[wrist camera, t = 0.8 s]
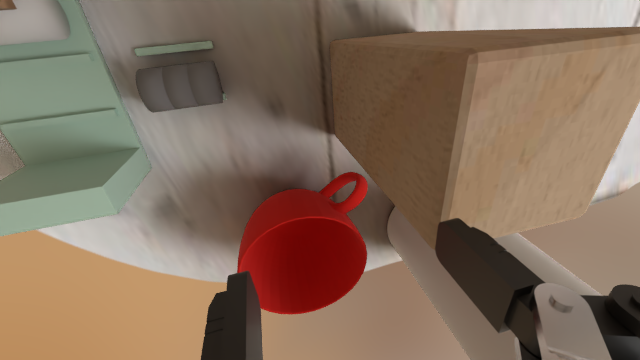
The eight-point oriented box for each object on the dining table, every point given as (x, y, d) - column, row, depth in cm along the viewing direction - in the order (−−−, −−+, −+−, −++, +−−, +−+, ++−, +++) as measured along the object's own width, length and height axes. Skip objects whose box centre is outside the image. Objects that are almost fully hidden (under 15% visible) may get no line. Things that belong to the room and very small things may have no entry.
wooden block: (333, 136, 32) (433, 256, 14) (328, 40, 27) (468, 49, 10) (412, 124, 33) (587, 219, 16) (420, 31, 28) (684, 25, 11)
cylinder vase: (371, 243, 41) (505, 472, 20) (409, 171, 36) (639, 368, 15) (434, 253, 45) (601, 448, 24) (476, 189, 41) (728, 362, 19)
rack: (136, 48, 24) (133, 48, 23) (211, 40, 25) (211, 40, 24) (158, 108, 26) (157, 109, 26) (226, 98, 27) (226, 99, 27)
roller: (139, 61, 23) (132, 84, 21) (211, 53, 24) (211, 75, 22) (158, 96, 26) (154, 120, 24) (222, 88, 27) (223, 110, 25)
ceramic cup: (377, 175, 36) (418, 220, 27) (302, 263, 40) (317, 326, 31) (298, 120, 30) (318, 154, 21) (220, 230, 34) (210, 295, 25)
